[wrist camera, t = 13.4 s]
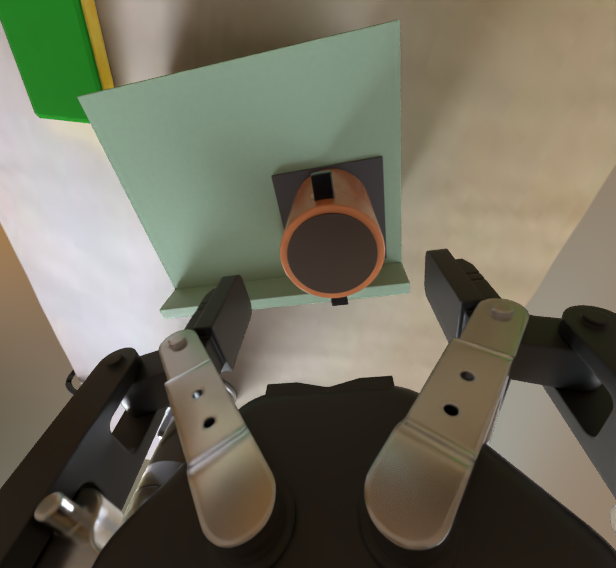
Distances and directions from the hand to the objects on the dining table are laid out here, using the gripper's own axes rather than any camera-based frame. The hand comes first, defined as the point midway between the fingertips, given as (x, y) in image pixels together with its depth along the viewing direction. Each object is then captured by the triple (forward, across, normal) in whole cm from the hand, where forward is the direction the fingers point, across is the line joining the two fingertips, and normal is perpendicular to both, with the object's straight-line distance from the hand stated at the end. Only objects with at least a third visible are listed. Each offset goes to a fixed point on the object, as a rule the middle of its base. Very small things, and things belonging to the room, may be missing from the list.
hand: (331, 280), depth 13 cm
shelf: (+22, +5, -2) cm, 23 cm away
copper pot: (+10, 0, 0) cm, 10 cm away
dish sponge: (+23, +22, -16) cm, 35 cm away
